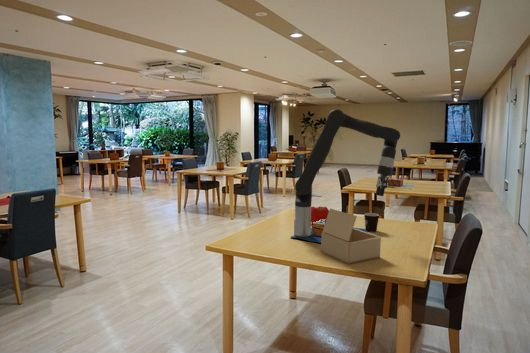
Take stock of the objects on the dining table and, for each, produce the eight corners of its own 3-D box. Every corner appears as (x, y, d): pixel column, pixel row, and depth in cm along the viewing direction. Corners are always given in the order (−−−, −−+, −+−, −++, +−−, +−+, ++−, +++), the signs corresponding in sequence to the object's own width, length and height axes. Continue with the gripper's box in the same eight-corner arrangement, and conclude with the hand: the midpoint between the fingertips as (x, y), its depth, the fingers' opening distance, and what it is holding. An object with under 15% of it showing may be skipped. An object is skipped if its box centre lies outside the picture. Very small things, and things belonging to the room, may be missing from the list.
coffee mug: (378, 232, 233) (379, 216, 231) (364, 232, 234) (364, 215, 233) (377, 228, 244) (378, 212, 243) (363, 227, 246) (363, 211, 244)
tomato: (311, 227, 245) (312, 208, 243) (305, 221, 259) (306, 204, 257) (332, 226, 247) (332, 208, 245) (325, 221, 261) (325, 203, 259)
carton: (351, 246, 206) (352, 227, 205) (381, 257, 188) (382, 237, 187) (320, 251, 196) (320, 232, 195) (348, 264, 178) (349, 243, 177)
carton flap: (323, 231, 194) (330, 208, 195) (348, 241, 178) (356, 216, 179) (322, 231, 194) (329, 208, 194) (348, 241, 178) (355, 215, 178)
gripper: (376, 165, 217) (369, 193, 217) (381, 164, 203) (375, 194, 203) (389, 168, 217) (383, 196, 217) (396, 167, 202) (389, 197, 202)
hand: (379, 195), depth 210 cm, fingers open, 8 cm apart
